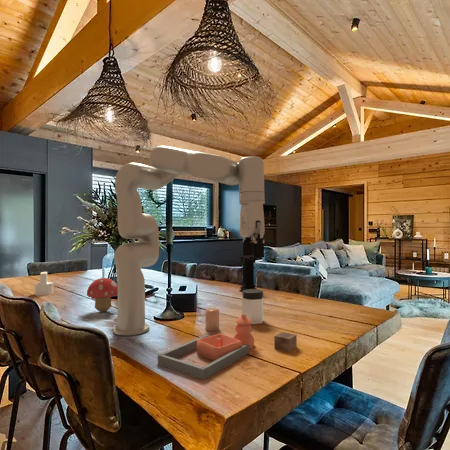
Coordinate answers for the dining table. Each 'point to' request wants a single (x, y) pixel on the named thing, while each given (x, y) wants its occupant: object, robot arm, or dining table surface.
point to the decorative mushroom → (102, 293)
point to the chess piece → (248, 273)
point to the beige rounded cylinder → (212, 319)
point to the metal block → (285, 341)
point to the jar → (253, 305)
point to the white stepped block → (43, 285)
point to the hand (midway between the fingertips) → (253, 256)
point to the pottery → (226, 341)
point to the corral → (193, 370)
